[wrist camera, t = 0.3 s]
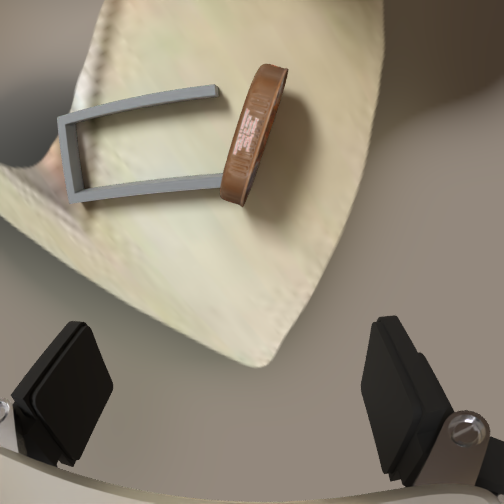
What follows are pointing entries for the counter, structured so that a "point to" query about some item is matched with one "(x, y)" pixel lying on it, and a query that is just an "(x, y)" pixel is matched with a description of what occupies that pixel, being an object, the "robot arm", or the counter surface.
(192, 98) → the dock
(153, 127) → the counter surface
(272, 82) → the tin
